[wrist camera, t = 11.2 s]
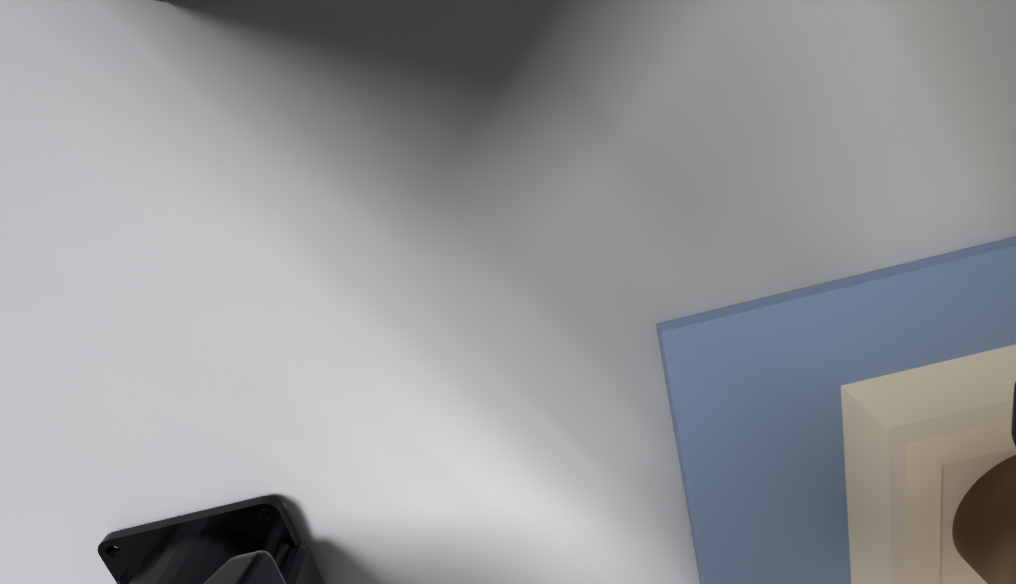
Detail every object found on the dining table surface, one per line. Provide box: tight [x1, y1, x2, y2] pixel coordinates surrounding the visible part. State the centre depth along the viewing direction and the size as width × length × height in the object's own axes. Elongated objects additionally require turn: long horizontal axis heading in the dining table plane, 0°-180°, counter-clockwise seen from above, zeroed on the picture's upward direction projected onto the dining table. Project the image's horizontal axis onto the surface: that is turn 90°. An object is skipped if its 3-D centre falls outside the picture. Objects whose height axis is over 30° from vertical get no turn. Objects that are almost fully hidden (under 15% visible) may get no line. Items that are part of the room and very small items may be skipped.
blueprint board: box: [656, 237, 1016, 584], centre depth 20 cm, size 20×16×4 cm
